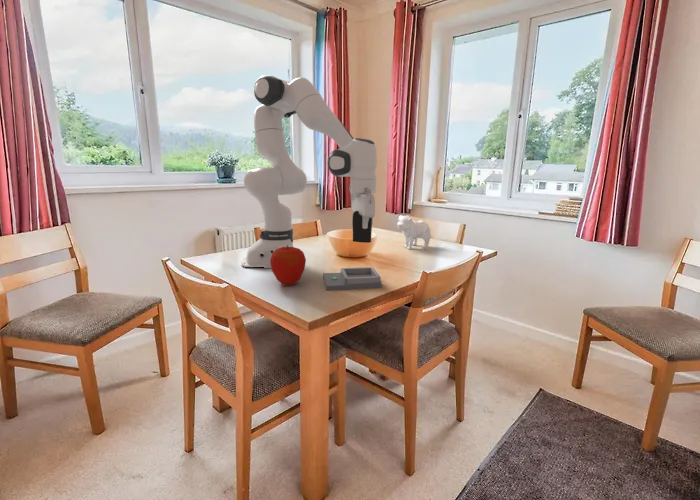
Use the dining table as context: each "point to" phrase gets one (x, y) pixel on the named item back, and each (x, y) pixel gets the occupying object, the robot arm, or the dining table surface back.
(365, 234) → the battery
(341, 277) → the charging dock
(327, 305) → the dining table surface
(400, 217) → the white dog figurine
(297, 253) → the apple
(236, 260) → the dining table surface
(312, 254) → the dining table surface
